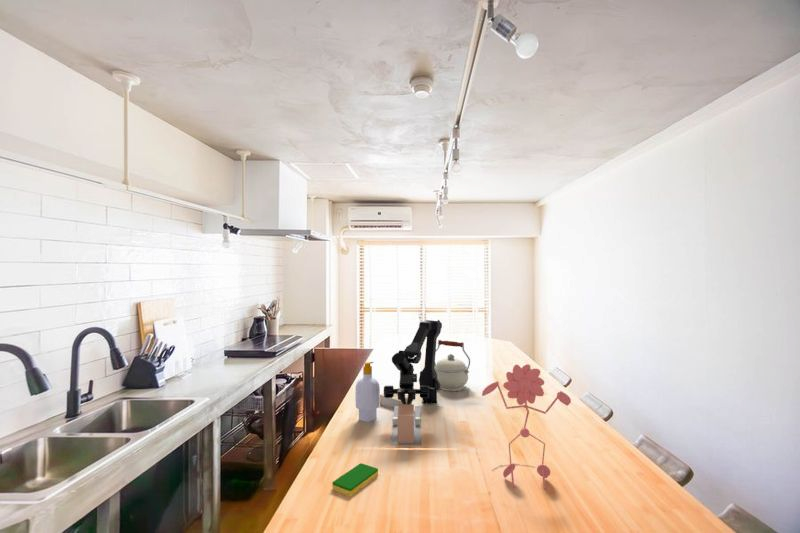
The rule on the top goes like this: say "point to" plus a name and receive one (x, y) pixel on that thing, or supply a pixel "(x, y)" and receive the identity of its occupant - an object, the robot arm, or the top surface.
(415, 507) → the top surface
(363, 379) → the soap bottle
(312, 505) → the top surface
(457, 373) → the kettle
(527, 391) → the figurine
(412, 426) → the block
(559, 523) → the top surface
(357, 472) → the dish sponge
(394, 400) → the supplement box
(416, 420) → the chute
